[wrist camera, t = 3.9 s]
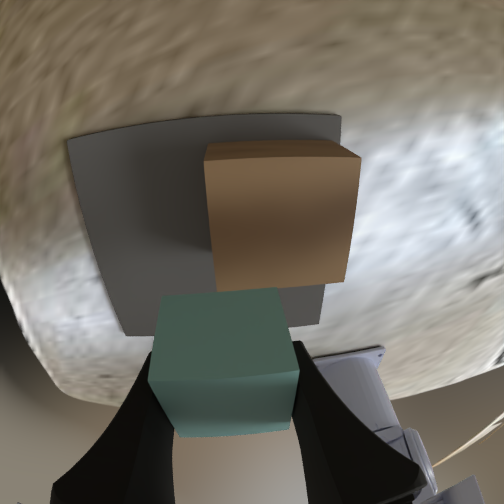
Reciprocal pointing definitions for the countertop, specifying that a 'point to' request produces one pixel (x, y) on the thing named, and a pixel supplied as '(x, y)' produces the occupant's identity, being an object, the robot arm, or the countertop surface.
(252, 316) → the teal block
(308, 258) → the walnut block
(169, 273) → the mat
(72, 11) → the countertop surface
